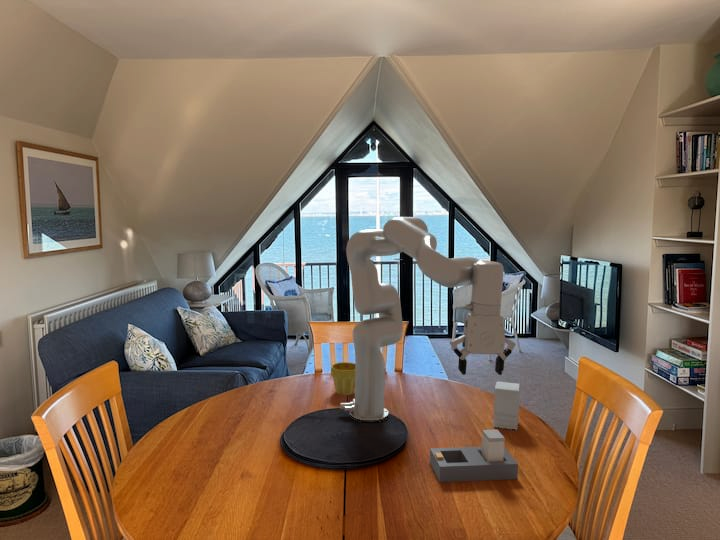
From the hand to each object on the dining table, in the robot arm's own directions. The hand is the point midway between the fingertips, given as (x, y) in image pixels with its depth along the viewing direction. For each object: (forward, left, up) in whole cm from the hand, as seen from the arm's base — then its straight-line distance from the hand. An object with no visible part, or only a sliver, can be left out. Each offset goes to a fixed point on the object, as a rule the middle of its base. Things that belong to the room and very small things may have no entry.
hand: (480, 373), depth 139 cm
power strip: (-3, -5, -24) cm, 25 cm away
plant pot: (-31, +55, -25) cm, 68 cm away
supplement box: (+17, +23, -25) cm, 38 cm away
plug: (+2, -5, -24) cm, 25 cm away
